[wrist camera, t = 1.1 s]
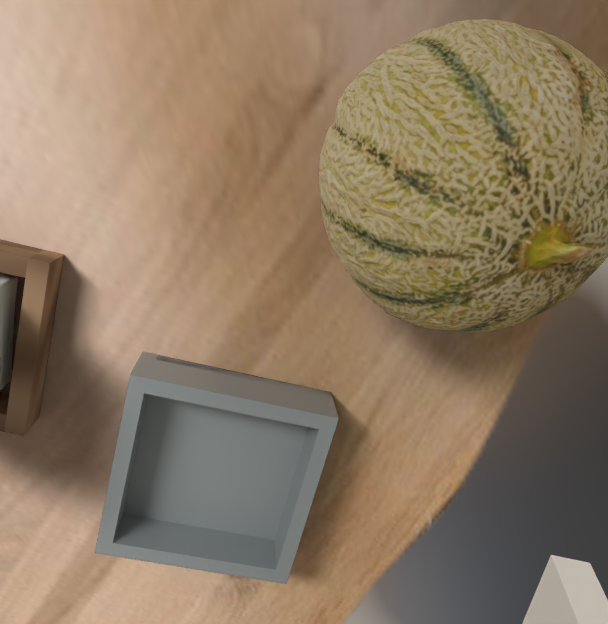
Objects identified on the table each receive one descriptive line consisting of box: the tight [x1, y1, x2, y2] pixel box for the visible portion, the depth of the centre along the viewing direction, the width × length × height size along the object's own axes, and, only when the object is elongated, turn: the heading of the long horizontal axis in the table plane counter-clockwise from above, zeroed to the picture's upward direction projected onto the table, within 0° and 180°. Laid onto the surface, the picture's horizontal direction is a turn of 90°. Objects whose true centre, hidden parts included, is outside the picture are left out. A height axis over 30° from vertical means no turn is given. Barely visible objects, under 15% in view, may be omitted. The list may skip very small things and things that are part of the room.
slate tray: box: [95, 352, 339, 584], centre depth 38 cm, size 13×13×4 cm
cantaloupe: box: [319, 19, 608, 333], centre depth 28 cm, size 15×15×15 cm
